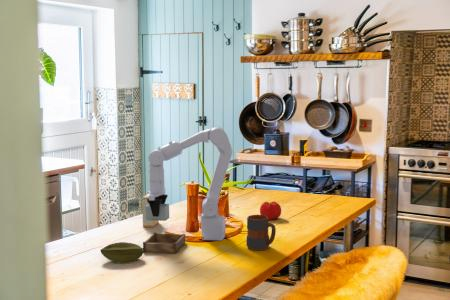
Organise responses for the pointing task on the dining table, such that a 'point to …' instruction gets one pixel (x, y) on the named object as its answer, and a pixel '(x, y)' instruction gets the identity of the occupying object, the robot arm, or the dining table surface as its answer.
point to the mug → (259, 232)
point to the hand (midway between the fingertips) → (158, 214)
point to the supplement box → (145, 222)
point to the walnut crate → (164, 243)
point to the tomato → (270, 210)
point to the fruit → (122, 252)
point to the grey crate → (162, 213)
